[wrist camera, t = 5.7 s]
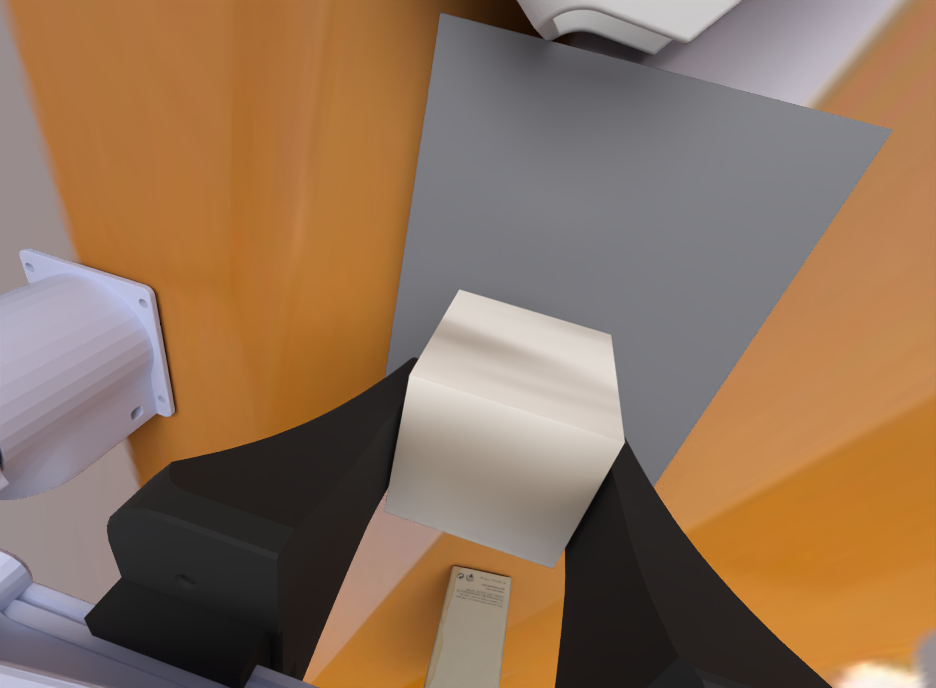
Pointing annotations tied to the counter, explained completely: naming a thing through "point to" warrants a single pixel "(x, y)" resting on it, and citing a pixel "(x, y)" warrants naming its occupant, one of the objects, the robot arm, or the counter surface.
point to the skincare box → (470, 631)
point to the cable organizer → (627, 19)
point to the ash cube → (506, 428)
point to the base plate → (617, 211)
